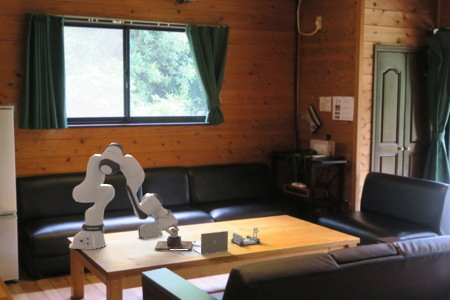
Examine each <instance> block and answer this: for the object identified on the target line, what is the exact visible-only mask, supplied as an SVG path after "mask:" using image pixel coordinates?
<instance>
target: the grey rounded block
mask: <svg viewBox="0 0 450 300" xmlns="http://www.w3.org/2000/svg"><path fill="white" fill-rule="evenodd" d="M137 230H138V231H137V233H138V238H139V237H140V238H142V239H143V238H146V239H148V238H147V237H151V238H153V237H152V236H156V237H160V236H159V235H162V236H164V235H163V231H160V229H159V228H158V227H157V225H156V223H155V222H146V223H144V224H142V225H140V226H138V227H137Z"/></svg>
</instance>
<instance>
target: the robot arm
mask: <svg viewBox="0 0 450 300" xmlns="http://www.w3.org/2000/svg"><path fill="white" fill-rule="evenodd" d="M120 171H121V173H123V175H124V177H125V179H126V185H125V191H126V193H127V197H128V198H129V201H130V203H131V206H132V210H133V213H134V215H135V217H136V218H137V219H139V220H141V221H142V220H147V218H149V217H150V216H151V217H152V218H153V219H154V223H156V225H157V227H158V228H159V229H160V231H161V232H164V231H165V233H167V234H168V235H169V236H170V235H171V234H173V232H172V231H170V228H172V227H173V228H176V229H178V232H179V231H180V228H179V227H178V223H179V221H178V219H177V218H176V216H175V215H174V214H173V213H172V211H171V210H170V209H167V208H164V207H163V206H162V205H163V199H162V198H161V196H160V195H159V194H158V193H150V192H149V193H145V194H144V195H143V196H142V197H141V199H140V200H139V199H138V196H137V193H138V190H139V188H141V185H143V183H144V180H145V177H146V173H145V172H144V169H143V167H142V166H141V164H140V162H139V161H137V159H136V158H135V157H134V156H133V155H130V154H126V155H124V148H123V146H122V145H121V144H119V143H118V142H112V143H110V144H108V145H107V146H106V147H105V148H104V149H103V150H102V153H101V154H99V153H97V154H96V153H95V154H92V155H91V156H90V157H89V160H88V162H87V166H86V174H85V179H84V180H83V181H82V182H80V184H78V185H76V186H75V187H74V188H73V189H72V199H73V200H75V202H78V203H94V205H93V206H91V207H89V208H88V209H86V211H85V212H84V223H82V225H81V229H82V230H79V232H78V233H76V234H75V235H74V236H73V239H72V242H70V244H69V246H68V248H69V249H77V250H88V249H89V250H92V249H93V250H97V249H102V248H105V247H106V246H107V243H106V240H105V223H104V213H105V209H106V207H107V206H108V204H109V203H110V202H111V201H112V200H113V199H114V197H115V194H116V190H115V187H113V185H112V184H106V183H105V184H104V182H105V178H106V176H111V175H114V174H118V173H119V172H120ZM139 201H141V202H139ZM104 246H105V247H104ZM101 247H102V248H101ZM96 248H97V249H96ZM89 250H88V251H89Z"/></svg>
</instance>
